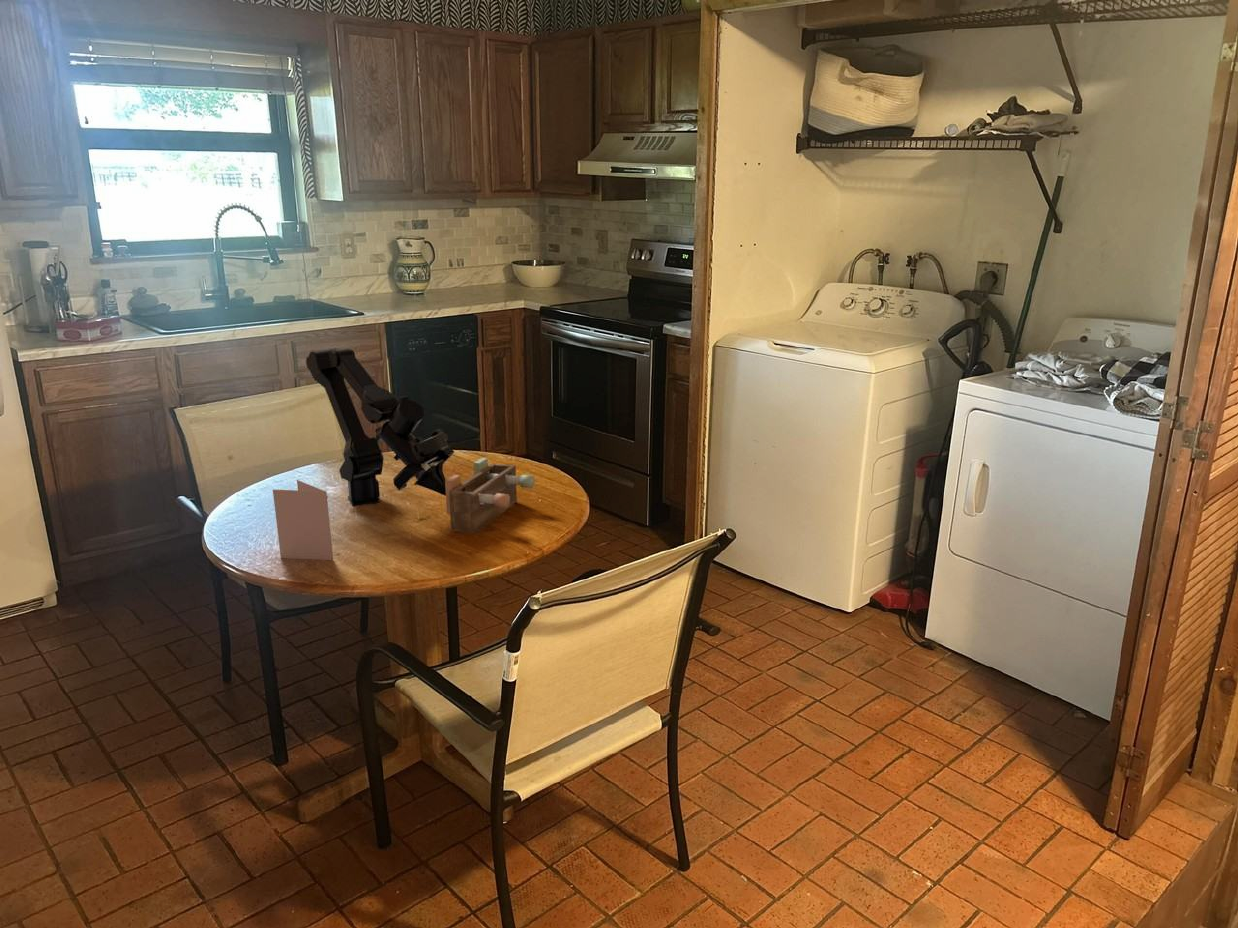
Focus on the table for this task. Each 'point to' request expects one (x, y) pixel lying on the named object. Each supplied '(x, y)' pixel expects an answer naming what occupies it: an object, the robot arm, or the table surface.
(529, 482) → the sage button
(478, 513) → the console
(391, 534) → the table surface
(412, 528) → the table surface
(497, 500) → the pink block with rod
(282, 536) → the greeting card
